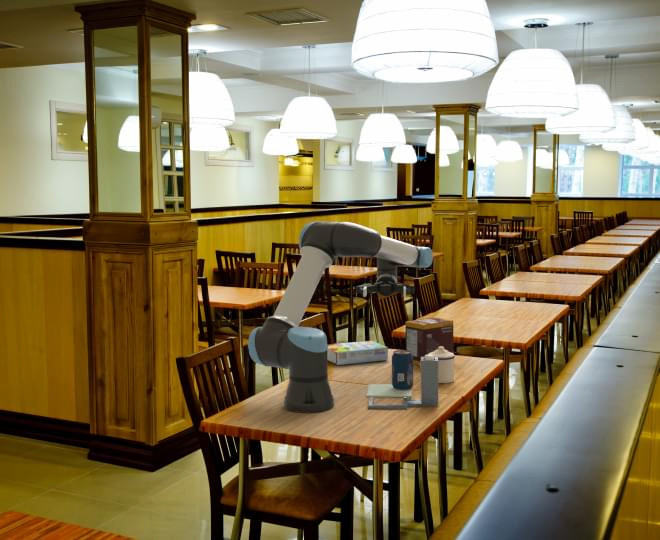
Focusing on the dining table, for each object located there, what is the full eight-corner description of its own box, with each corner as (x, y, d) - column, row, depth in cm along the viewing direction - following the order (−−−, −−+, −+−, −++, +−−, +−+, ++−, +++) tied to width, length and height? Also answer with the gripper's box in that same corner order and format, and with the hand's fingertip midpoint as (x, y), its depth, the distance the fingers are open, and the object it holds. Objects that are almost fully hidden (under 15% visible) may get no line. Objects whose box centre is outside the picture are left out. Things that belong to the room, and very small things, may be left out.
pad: (368, 385, 253) (368, 384, 253) (411, 386, 251) (411, 384, 251) (366, 397, 239) (366, 395, 239) (411, 397, 237) (411, 395, 237)
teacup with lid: (458, 379, 260) (458, 345, 258) (449, 385, 252) (449, 350, 250) (425, 375, 265) (425, 342, 264) (415, 381, 257) (415, 347, 256)
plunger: (425, 374, 230) (424, 354, 230) (433, 374, 230) (433, 354, 229) (425, 376, 228) (425, 356, 227) (433, 376, 227) (433, 356, 227)
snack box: (388, 361, 289) (372, 353, 303) (388, 347, 288) (372, 339, 302) (335, 366, 282) (322, 357, 296) (335, 351, 281) (322, 343, 295)
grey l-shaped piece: (370, 400, 235) (369, 355, 234) (437, 401, 233) (437, 356, 232) (368, 408, 226) (367, 362, 225) (438, 409, 224) (438, 363, 222)
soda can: (394, 384, 251) (393, 349, 250) (415, 386, 249) (414, 350, 248) (390, 390, 244) (389, 353, 243) (411, 391, 242) (411, 354, 241)
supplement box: (454, 361, 287) (454, 320, 286) (423, 366, 278) (423, 324, 277) (435, 356, 296) (435, 316, 294) (405, 362, 287) (404, 321, 285)
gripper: (420, 295, 277) (421, 303, 256) (352, 295, 280) (347, 304, 259) (420, 274, 277) (421, 281, 256) (352, 275, 279) (347, 282, 258)
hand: (384, 292), depth 257 cm, fingers open, 13 cm apart
